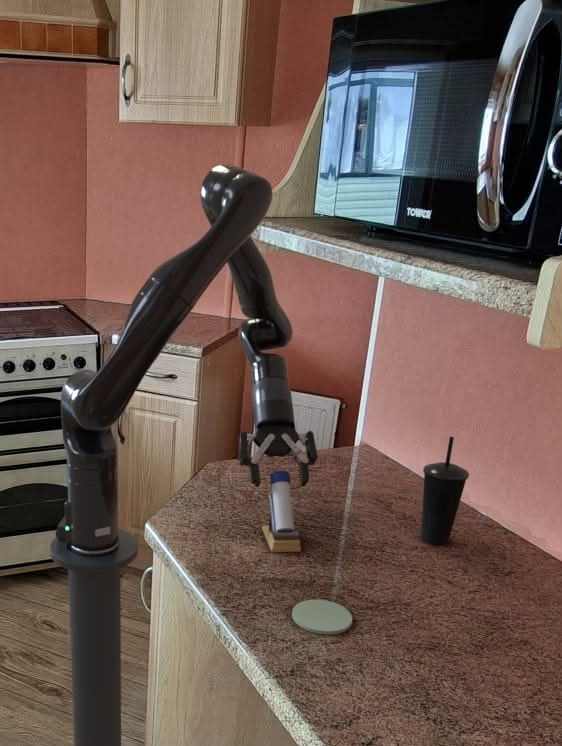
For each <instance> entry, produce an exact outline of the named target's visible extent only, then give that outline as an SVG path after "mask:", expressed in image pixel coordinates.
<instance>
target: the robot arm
mask: <svg viewBox="0 0 562 746" xmlns="http://www.w3.org/2000/svg"><path fill="white" fill-rule="evenodd" d="M199 192H200V194H199V199H200V203H201V206H202V210H203V213H204V215H205V217H206V218H207V221H208V223H209V225H210V228H209V229H208V230H207V232H205V234H204V235H202V237H201V238H199V240H197V241H196V242H195V243H193V244H192V245H190V246H189V247H187V248H186V249H184V250H183V251H180V252H178V253H177V254H175V255H174V256H172V257H170V258H169V259H167V260H165V261H164V262H162V263H161V264H160V265H158V266H157V268H155V269H154V270H153V271H152V272H151V274H150V275H149V277H148V278H147V279H146V281H145V282H144V283H143V285H142V286H141V288H140V289H139V291H138V292H137V293H136V295H135V296H134V298H133V300H132V301H131V303H130V305H129V308H128V311H127V312H126V316H125V318H124V322H123V325H122V329H121V331H120V335H119V337H118V340H117V342H116V344H115V346H114V348H113V350H112V351H111V353H110V355H109V356H108V357H107V359H106V360H105V361H104V363H103V364H102V365H101V367H99V369H98V370H97V371H96V370H92V369H82V370H78V371H75V372H74V373H73V374H71V375H70V376H69V377H68V378H67V379H66V380H65V382H64V384H63V386H62V390H61V393H60V417H61V429H62V431H61V432H62V433H61V434H62V441H63V445H64V449H65V454H66V472H67V473H66V475H67V477H66V478H67V480H66V481H67V500H66V501H65V502H64V516H63V518H62V519H61V521H60V522H59V523H58V525H57V526H56V530H55V537H57V538H58V542H66V550H71V551H73V552H74V553H76V554H79V555H82V556H90V557H96V556H104V555H107V554H110V553H112V552H114V551H115V550H117V548H118V547H119V534H118V529H119V450H118V449H119V448H118V444H117V442H116V440H115V437H114V432H113V428H112V426H114V425H115V424H116V423H117V422H118V421H119V420H120V418H121V417H122V416H123V414H124V412H125V410H126V409H127V407H128V405H129V403H130V401H131V400H132V398H133V397H134V395H135V393H136V391H137V389H138V387H139V386H140V385H141V383H142V381H143V379H144V377H145V376H146V374H147V373H148V372H149V370H150V368H151V367H152V366H153V364H154V363H155V362H156V360H157V359H158V358H159V356H160V354H161V353H162V352H163V350H164V349H165V347H166V346H167V345H168V344H169V342H170V341H171V339H172V337H173V336H174V335H175V334H176V333H177V331H178V330H179V329H180V328H181V326H182V325H183V324H184V322H185V321H186V319H187V318H188V317H189V315H190V314H191V312H192V310H193V309H194V308H195V306H196V305H197V303H198V302H199V300H201V297H202V296H203V295H204V294H205V292H206V290H207V289H208V288H209V286H210V285H211V284H212V282H213V281H214V280H215V278H217V276H218V275H219V273H220V272H221V271H222V269H223V268H224V267H225V266H226V264H227V266H228V269H229V271H230V274H231V278H232V281H233V285H234V289H235V292H236V297H237V299H238V304H239V308H240V311H241V312H242V315H244V316H245V317H246V319H244V320H242V322H240V325H239V327H238V331H237V335H238V339H239V343H240V345H241V347H242V349H243V351H244V353H245V356H246V358H247V361H248V365H249V369H250V374H251V375H250V377H251V387H252V393H251V402H252V403H251V408H252V412H253V413H252V414H253V425H254V434H252V433H247V432H246V431H241V433H240V435H239V437H238V464H239V466H240V467H241V466H242V467H243V466H245V467H248V469H249V476H250V482H251V484H252V485H254V488H256V487H257V488H259V487H260V485H261V474H260V464H259V463H260V462H261V460H262V459H263V457H264V456H267V457H268V458H274V457H280V458H285V457H286V456H287V457H288V458H289V459H290V460H291V461H293V462H295V464H296V465H297V466H298V478H299V486H300V487H306V485H307V484H308V483H309V481H310V470H309V466H313V465H315V464H316V462H317V460H318V452H317V446H316V441H315V436H314V432H313V431H311V430H308V431H307V432H306V433H299V432H298V431H297V430H296V422H295V412H294V405H293V397H292V391H291V387H290V380H289V373H288V364H287V360H286V359H285V358H284V356H283V355H280V354H278V353H271V352H270V353H269V352H268V351H275V350H280V349H284V348H286V347H288V346H289V345H290V343H291V342H292V340H293V337H294V330H293V325H292V323H291V320H290V319H289V317H288V315H287V314H286V312H285V311H284V310H283V308H282V307H281V305H280V303H279V301H278V298H277V295H276V290H275V286H274V280H273V276H272V273H271V270H270V268H269V265H268V263H267V261H266V260H265V258H264V256H263V254H262V253H261V252H260V249H259V248H258V246H257V245H256V243H255V241H254V239H253V237H252V235H253V233H255V231H256V230H257V229H258V227H259V226H260V225H261V224H262V222H263V220H264V219H265V217H266V216H267V214H268V212H269V210H270V207H271V204H272V201H273V187H272V185H271V182H269V180H268V179H266V178H265V177H264V176H262V175H259V174H257V173H255V172H251V171H249V170H247V169H243V168H241V167H238V166H235V165H232V164H231V165H230V164H218V165H216V166H214V167H213V168H211V169H210V170H209V171H208V172H207V173H206V175H205V176H204V178H203V180H202V182H201V186H200V191H199ZM298 441H300V443H301V445H303V446H304V447H305V452H306V455H305V454H304V452H302V449H301V448H300V447H299V446H298V445H297V443H298ZM252 442H253V443H254V444H255V446H257V450H256V452H255V453H254V455H253V456H252V457H249V456H248V455H249V454H248V447H249V446H250V445H251V443H252Z"/></svg>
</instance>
